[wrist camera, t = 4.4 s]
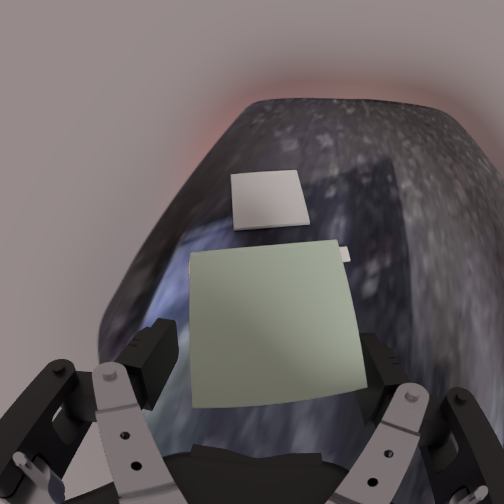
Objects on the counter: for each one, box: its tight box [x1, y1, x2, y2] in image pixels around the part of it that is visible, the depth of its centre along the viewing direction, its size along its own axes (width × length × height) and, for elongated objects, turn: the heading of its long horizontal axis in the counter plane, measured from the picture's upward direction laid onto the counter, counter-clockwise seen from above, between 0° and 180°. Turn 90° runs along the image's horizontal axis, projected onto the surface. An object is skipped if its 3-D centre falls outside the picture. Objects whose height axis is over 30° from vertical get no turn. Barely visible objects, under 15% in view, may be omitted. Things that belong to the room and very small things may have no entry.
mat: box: [231, 170, 310, 231], centre depth 23 cm, size 6×6×1 cm
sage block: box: [189, 240, 367, 408], centre depth 12 cm, size 5×5×10 cm
